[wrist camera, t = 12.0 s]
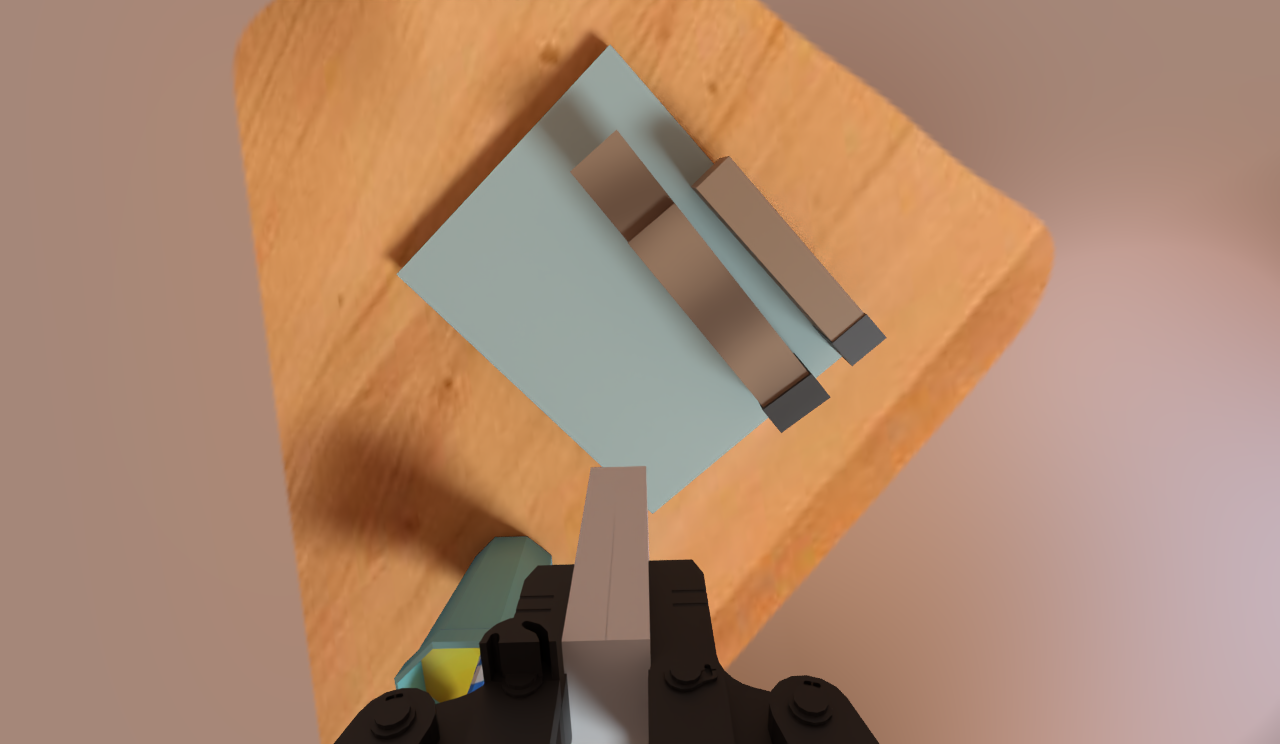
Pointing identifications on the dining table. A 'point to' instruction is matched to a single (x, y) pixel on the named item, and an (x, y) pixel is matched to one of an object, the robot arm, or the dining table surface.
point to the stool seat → (625, 287)
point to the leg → (698, 281)
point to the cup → (472, 619)
